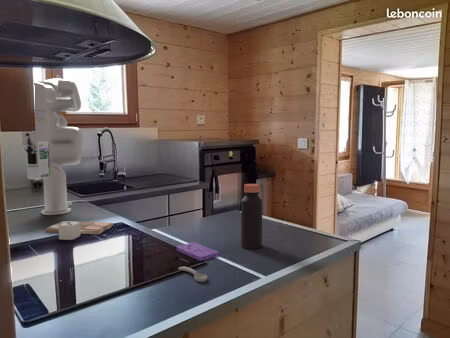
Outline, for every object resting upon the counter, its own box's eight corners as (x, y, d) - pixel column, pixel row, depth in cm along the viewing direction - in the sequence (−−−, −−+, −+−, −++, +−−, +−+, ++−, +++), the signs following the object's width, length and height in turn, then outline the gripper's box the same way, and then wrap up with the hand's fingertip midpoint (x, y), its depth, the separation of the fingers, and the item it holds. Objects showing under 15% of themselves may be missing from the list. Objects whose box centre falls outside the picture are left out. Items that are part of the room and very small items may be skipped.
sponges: (194, 247, 115) (194, 241, 115) (219, 257, 105) (219, 251, 105) (175, 252, 110) (175, 246, 110) (200, 262, 101) (200, 256, 101)
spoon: (200, 284, 85) (200, 276, 85) (176, 273, 95) (175, 265, 95) (210, 282, 87) (210, 273, 87) (185, 270, 96) (185, 263, 96)
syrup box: (40, 179, 133) (38, 141, 132) (26, 179, 134) (24, 141, 133) (50, 177, 139) (48, 140, 137) (37, 177, 140) (35, 140, 138)
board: (64, 224, 143) (64, 220, 143) (113, 226, 140) (113, 222, 140) (45, 232, 131) (45, 228, 131) (98, 234, 128) (98, 230, 128)
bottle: (256, 250, 109) (256, 186, 108) (237, 247, 113) (237, 185, 111) (265, 245, 115) (266, 184, 113) (247, 241, 119) (247, 182, 117)
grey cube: (67, 235, 127) (66, 221, 127) (80, 236, 127) (79, 222, 126) (59, 239, 122) (58, 225, 122) (72, 240, 122) (71, 225, 121)
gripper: (41, 117, 143) (44, 161, 145) (9, 114, 126) (12, 165, 128) (58, 116, 142) (60, 161, 144) (28, 114, 125) (31, 165, 127)
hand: (38, 162), depth 136 cm, fingers closed on syrup box, 5 cm apart
